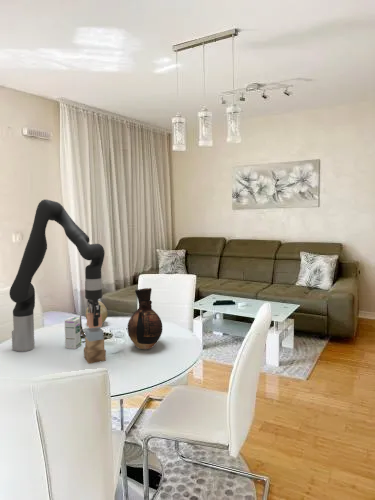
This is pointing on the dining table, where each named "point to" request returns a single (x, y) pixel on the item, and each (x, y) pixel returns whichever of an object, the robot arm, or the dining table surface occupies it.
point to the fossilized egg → (102, 311)
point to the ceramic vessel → (144, 322)
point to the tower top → (94, 334)
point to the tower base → (94, 356)
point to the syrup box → (72, 332)
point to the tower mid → (94, 345)
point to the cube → (90, 320)
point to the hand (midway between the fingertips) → (94, 324)
